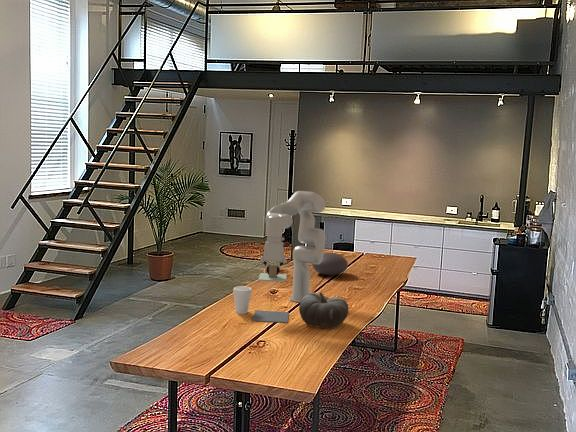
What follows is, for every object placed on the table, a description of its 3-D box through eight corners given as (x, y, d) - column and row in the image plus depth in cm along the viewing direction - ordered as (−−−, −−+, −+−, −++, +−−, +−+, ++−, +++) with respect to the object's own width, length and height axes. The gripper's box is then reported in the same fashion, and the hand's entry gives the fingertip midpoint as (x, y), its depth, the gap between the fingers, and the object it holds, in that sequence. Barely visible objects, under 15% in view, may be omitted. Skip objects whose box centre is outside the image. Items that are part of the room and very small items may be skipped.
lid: (286, 275, 335) (287, 263, 334) (285, 282, 321) (286, 269, 320) (260, 274, 336) (260, 261, 335) (258, 280, 322) (258, 267, 321)
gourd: (297, 310, 336) (304, 280, 332) (343, 320, 336) (350, 290, 332) (295, 329, 312) (302, 297, 307) (344, 340, 311) (352, 308, 307)
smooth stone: (353, 274, 439) (354, 253, 437) (336, 280, 418) (337, 258, 416) (322, 269, 452) (323, 248, 450) (304, 274, 431) (305, 253, 429)
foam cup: (253, 311, 340) (254, 287, 339) (246, 315, 332) (247, 291, 330) (237, 308, 343) (237, 285, 342) (229, 313, 335) (230, 289, 333)
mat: (288, 312, 340) (288, 312, 340) (287, 323, 322) (287, 322, 322) (255, 311, 340) (255, 310, 340) (252, 321, 323) (252, 320, 322)
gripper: (290, 238, 329) (289, 273, 332) (258, 237, 330) (257, 271, 332) (290, 241, 322) (288, 276, 324) (257, 239, 322) (256, 275, 325)
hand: (272, 273), depth 328 cm, fingers closed on lid, 4 cm apart
